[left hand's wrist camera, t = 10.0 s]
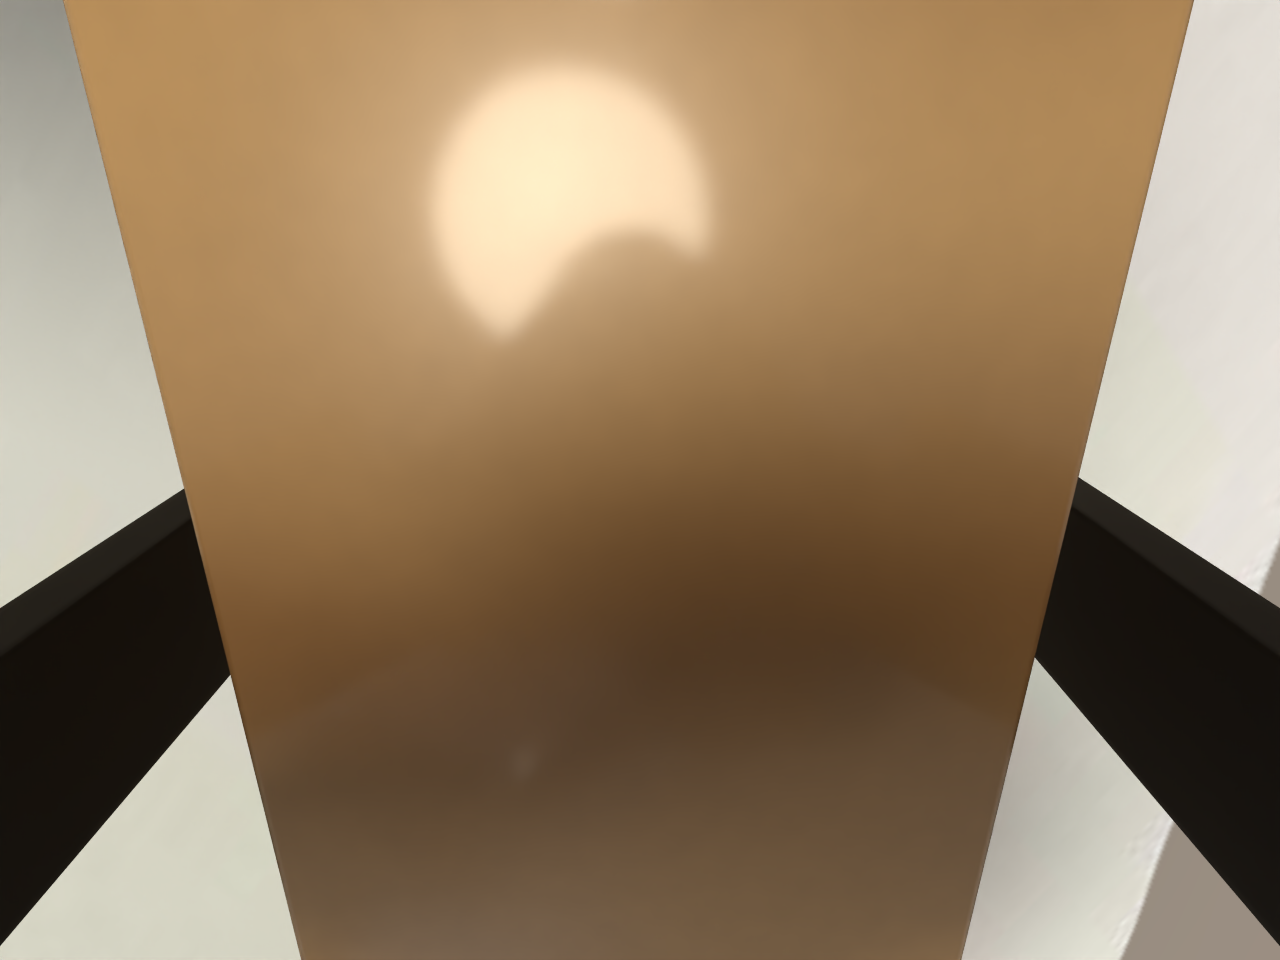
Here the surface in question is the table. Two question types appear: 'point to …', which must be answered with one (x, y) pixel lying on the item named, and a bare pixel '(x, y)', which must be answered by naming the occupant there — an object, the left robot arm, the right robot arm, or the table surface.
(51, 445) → the table surface
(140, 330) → the table surface
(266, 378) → the box
